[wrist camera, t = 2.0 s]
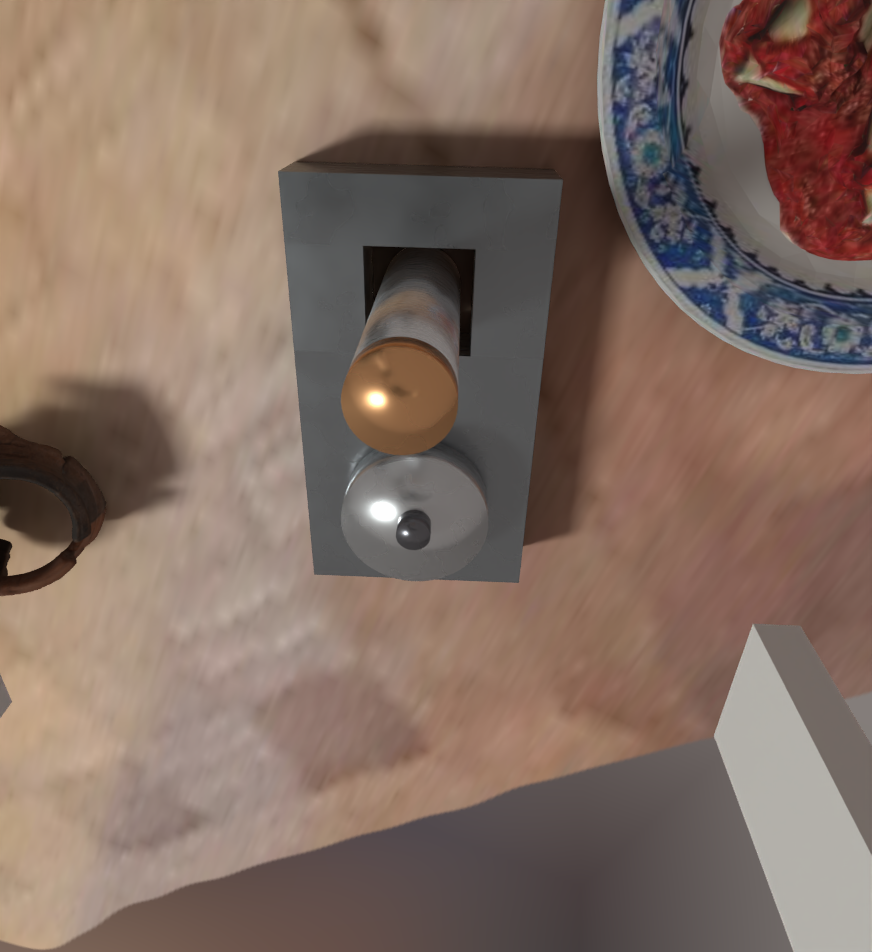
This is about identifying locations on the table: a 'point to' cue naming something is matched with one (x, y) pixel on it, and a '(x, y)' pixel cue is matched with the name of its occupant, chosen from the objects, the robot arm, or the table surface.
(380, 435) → the pin
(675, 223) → the ceramic plate
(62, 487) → the broken brown mug
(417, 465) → the block
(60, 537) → the table surface
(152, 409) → the table surface
